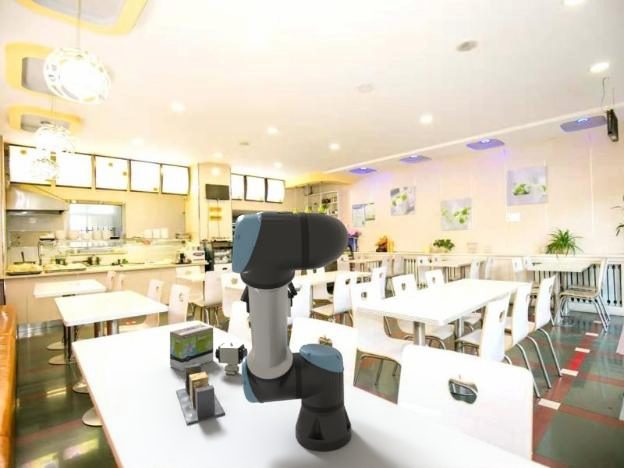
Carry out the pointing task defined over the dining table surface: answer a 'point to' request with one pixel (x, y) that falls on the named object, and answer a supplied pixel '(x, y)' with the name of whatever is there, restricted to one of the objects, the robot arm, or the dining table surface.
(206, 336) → the tea box
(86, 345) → the dining table surface
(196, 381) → the gold metallic block
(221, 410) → the base
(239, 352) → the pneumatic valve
